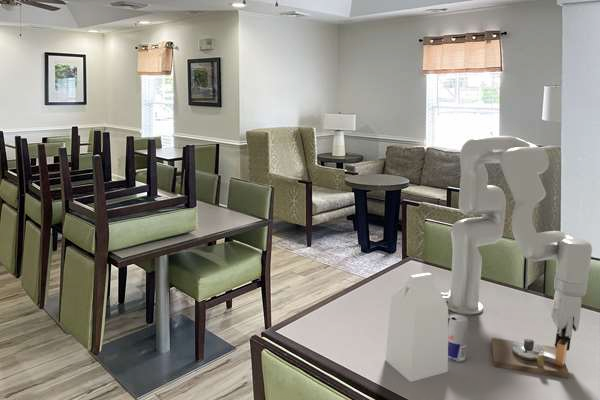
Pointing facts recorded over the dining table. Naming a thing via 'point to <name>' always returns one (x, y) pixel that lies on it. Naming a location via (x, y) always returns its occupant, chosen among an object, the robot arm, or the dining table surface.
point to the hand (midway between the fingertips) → (561, 348)
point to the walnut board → (510, 361)
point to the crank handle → (541, 352)
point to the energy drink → (457, 337)
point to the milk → (418, 329)
